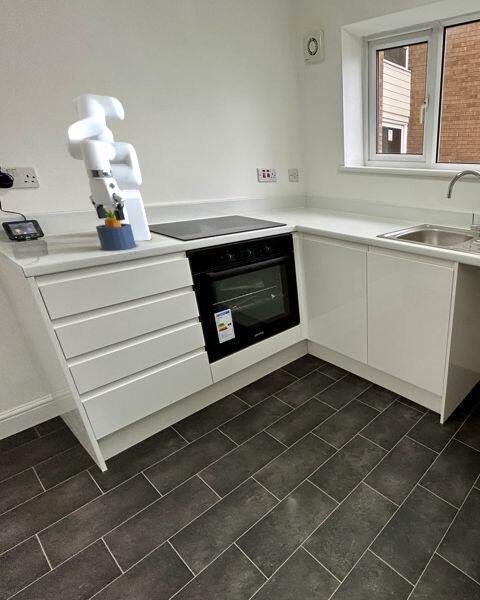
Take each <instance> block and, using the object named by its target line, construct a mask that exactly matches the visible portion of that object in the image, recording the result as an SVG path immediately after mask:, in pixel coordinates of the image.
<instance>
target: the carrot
mask: <svg viewBox="0 0 480 600" xmlns="http://www.w3.org/2000/svg"><path fill="white" fill-rule="evenodd" d="M104 211H105V212H106V213H107V214H108V215H107V214H105V215H106V216H108V217H109V218H104V225H106V227H107V228H110V227H121V223H120V221H117V220H116V218H114V216H115V213H114V212H113V213H112V211H111V210H109V212H108V210H107V209H104Z"/></svg>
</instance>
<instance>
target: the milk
mask: <svg viewBox="0 0 480 600" xmlns="http://www.w3.org/2000/svg"><path fill="white" fill-rule="evenodd" d="M122 192H123V199H124V203H125V207H126V211H127V215H128V219H129V223H130V225H131V228H132V232H133V236H134V240H135V242H141V241H142V242H144V241H151V239H152V236H151V232H150V228H149V223H148V219H147V214H146V211H145V206H144V203H143V202H144V201H143V199H142V195H141V192H140V190H139V189H122Z"/></svg>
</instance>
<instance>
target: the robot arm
mask: <svg viewBox="0 0 480 600" xmlns="http://www.w3.org/2000/svg"><path fill="white" fill-rule="evenodd" d="M72 105H73V107H74V111H75V113H76V115H77V118H78V119H77V120H75V121H73V122H72V123H71V124H70V125H69V126H67V128H66V130H65V146H66V150H67V153H68V154H69V156H70V157H72V158H73V159H74V160H78V161H83V163H84V167H85V170H86V174H87V177H88V182H89V183H88V184H89V187H90V194H91V195H90V196H89V197H88V198H89V200H90V201H91V204H92V205H93V207H94V209H95V211H96V215H97V218H98V219H99V220H105V219H107V218H109V217H108V216H106V215H105V214H107V213H106V212H105V211H104V209H107V210H108V212H109V210H111V211H112V213H113V212H114V213H115V216H114V218H116V220H117V221H120V223H121V224H130V223H129V219H128V215H127V211H126V207H125V203H124V199H123V190H121V189H120V188H126V187H127V188H132V187H133V188H135V187H140V186H141V185H142V183H143V180H142V179H143V178H142V173H141V169H140V165H139V160H138V156H137V153H136V149H135V147H134V146H133V145H132V144H131V143H129V142H125V141H124V142H123V141H115V140H114V135H113V131H111V129H110V128H109V127H107V123H106V121H117V122H119V121H121V122H122V121H123V120H124V119H125V110H124V107H123V105H122V103H121V102H120V100H119V99H118V98H116V97H115V96H111V95H104V94H94V93H82V94H79V95H78V96H77V97H75V98H73V100H72ZM87 138H89V139H87ZM107 215H108V214H107Z"/></svg>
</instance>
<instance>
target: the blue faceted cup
mask: <svg viewBox="0 0 480 600" xmlns="http://www.w3.org/2000/svg"><path fill="white" fill-rule="evenodd" d="M95 229H96V232H97V236H98V240H99V243H100V246H101V250H102V251H110V252H111V251H112V252H113V251H123V250H125V251H126V250H131V249H134V248H135V247H137V246H136V241H135V240H134V236H133V232H132V228H131V225H130V224H121V227H110V228H107V227H106V225H105V224H99V225H97V226H95Z"/></svg>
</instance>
